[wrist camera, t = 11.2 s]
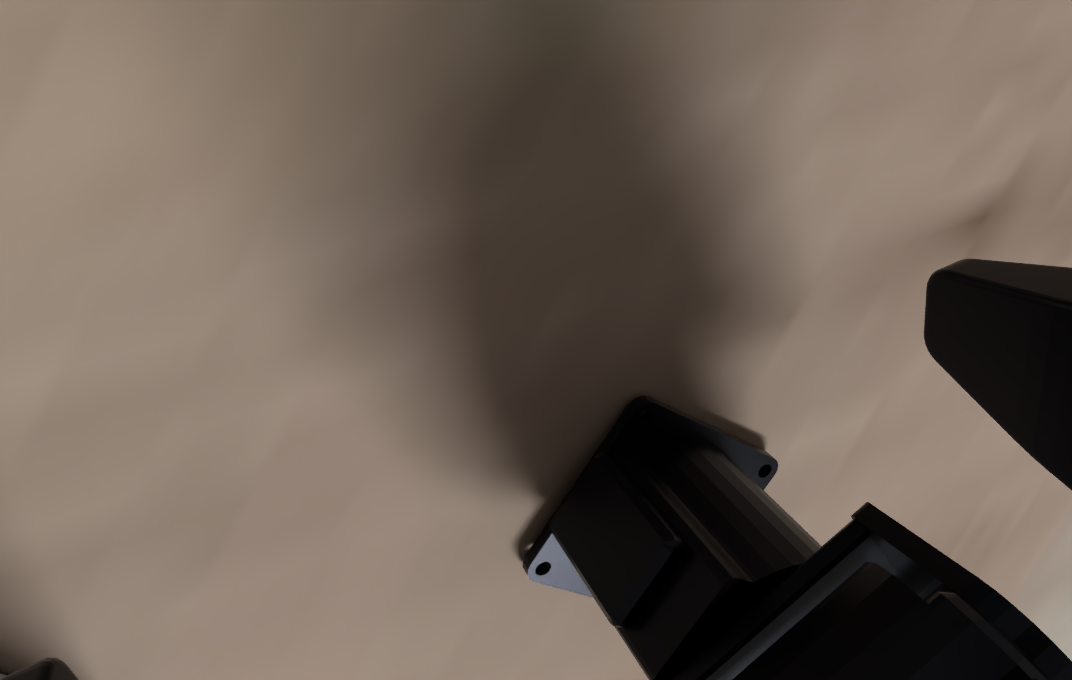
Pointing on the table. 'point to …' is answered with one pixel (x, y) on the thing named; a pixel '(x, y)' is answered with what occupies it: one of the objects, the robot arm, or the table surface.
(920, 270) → the table surface
